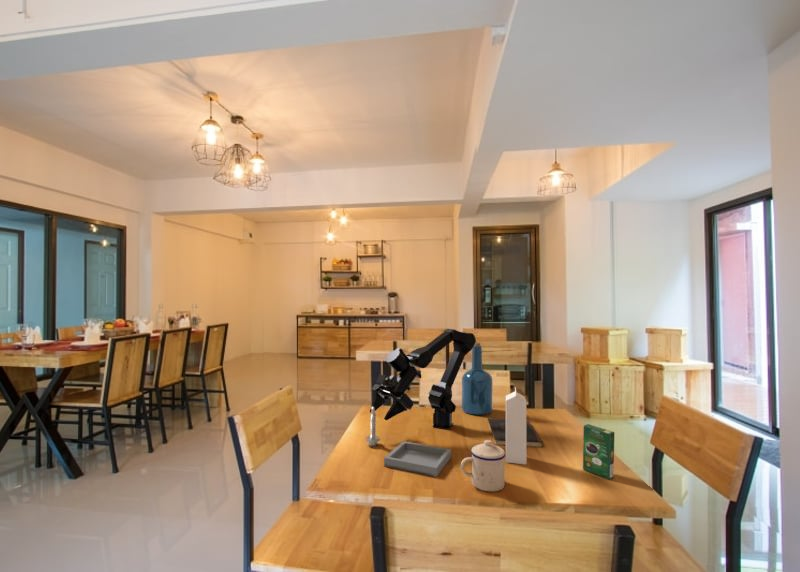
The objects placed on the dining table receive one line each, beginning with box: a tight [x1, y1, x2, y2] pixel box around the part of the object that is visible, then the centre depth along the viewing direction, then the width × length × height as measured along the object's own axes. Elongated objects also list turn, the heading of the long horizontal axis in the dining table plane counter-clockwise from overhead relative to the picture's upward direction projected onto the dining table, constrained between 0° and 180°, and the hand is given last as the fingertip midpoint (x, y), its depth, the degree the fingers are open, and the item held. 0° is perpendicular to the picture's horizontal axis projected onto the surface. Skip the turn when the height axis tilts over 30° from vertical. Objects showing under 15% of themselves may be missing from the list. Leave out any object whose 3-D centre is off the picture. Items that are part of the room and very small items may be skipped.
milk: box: [505, 386, 527, 466], centre depth 122 cm, size 6×6×22 cm
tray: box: [383, 440, 452, 478], centre depth 120 cm, size 16×14×2 cm
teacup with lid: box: [460, 439, 506, 493], centre depth 106 cm, size 12×9×12 cm
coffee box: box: [582, 423, 615, 481], centre depth 112 cm, size 8×3×13 cm, turn 35°
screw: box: [365, 407, 381, 447], centre depth 133 cm, size 13×5×5 cm
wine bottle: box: [461, 342, 494, 416], centre depth 171 cm, size 14×13×30 cm
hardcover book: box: [487, 417, 544, 448], centre depth 144 cm, size 16×23×2 cm
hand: (377, 416), depth 134 cm, fingers open, 9 cm apart
